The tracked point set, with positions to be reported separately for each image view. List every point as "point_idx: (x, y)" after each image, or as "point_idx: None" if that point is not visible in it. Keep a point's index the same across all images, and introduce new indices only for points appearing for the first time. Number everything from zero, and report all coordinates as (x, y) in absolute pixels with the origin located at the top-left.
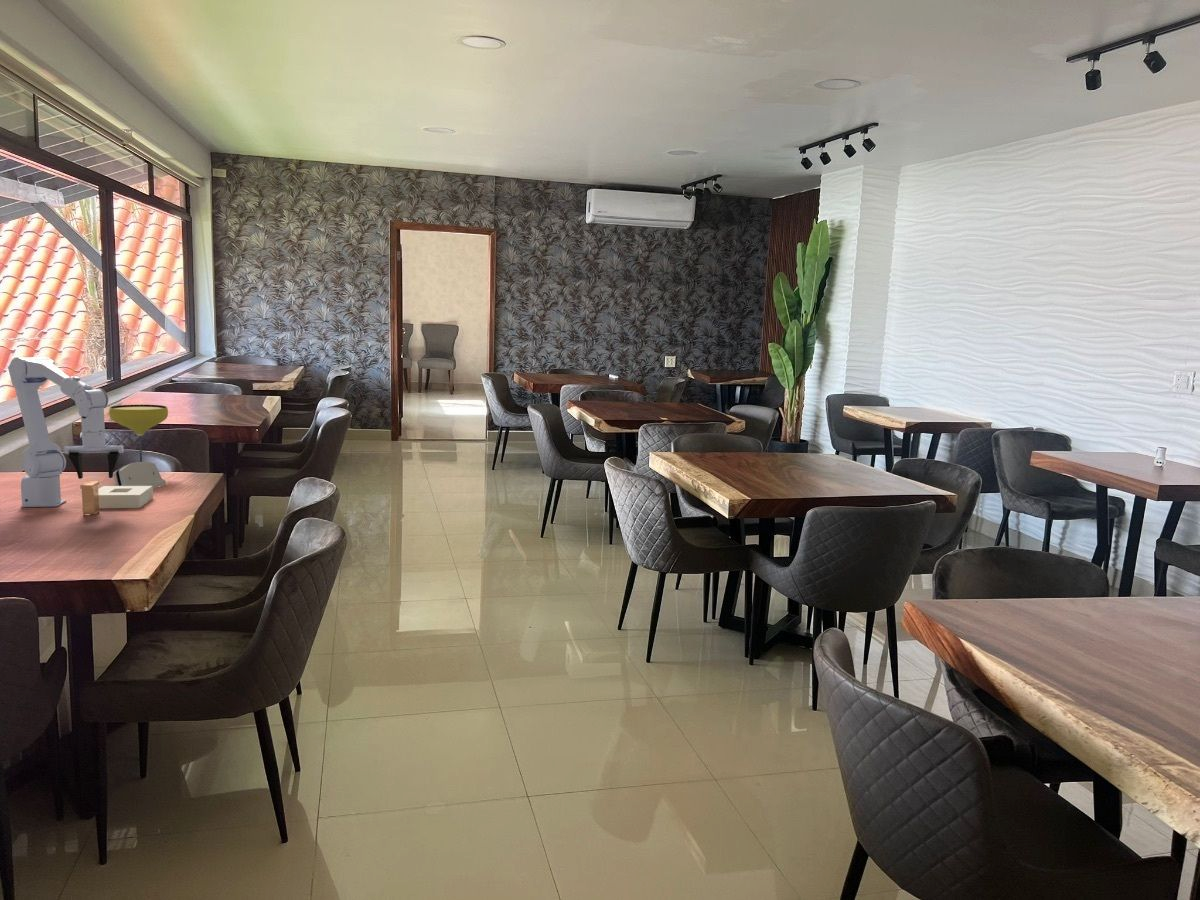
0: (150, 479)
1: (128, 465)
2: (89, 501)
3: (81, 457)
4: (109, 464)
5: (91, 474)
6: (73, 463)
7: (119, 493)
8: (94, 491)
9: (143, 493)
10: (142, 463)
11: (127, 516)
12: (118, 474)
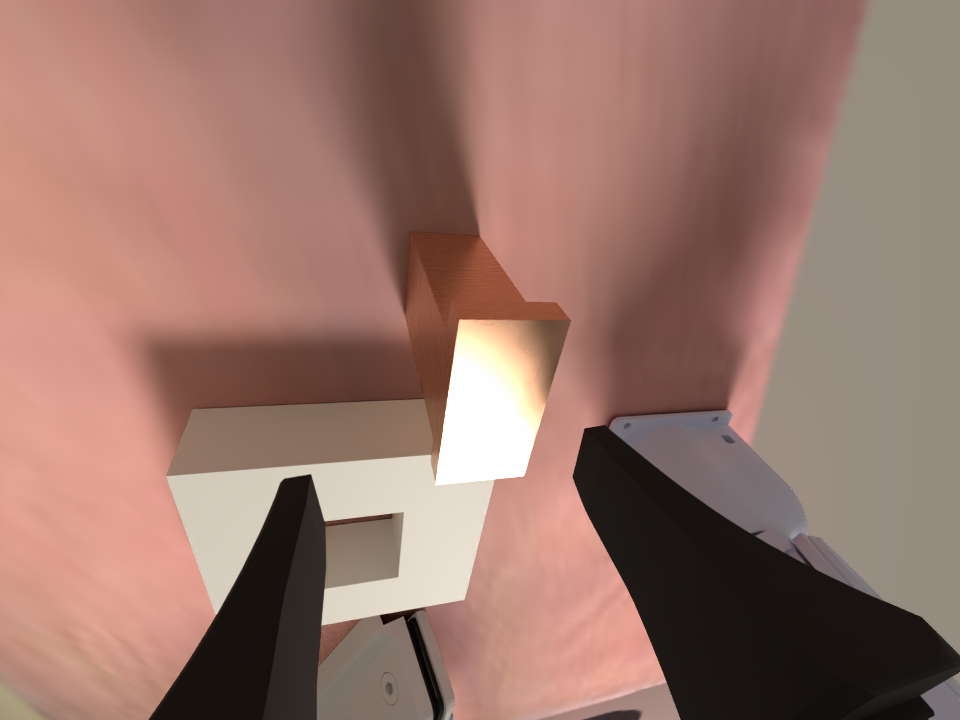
0: (332, 711)
1: None
2: (458, 273)
3: (691, 716)
4: (256, 657)
5: (535, 708)
6: (778, 554)
7: (332, 497)
8: (436, 336)
9: (191, 530)
10: None
11: (135, 153)
12: (434, 698)
